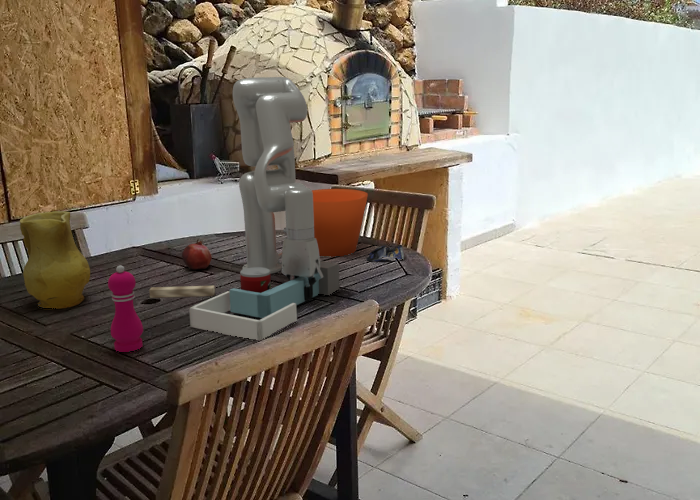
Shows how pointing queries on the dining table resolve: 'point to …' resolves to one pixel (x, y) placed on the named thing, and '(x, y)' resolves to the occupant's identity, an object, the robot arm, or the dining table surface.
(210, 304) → the bay
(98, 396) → the dining table surface
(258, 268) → the canned food
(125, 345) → the pepper mill
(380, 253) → the snack package
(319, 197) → the flowerpot
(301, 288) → the teal gray angled bar
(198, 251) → the fruit
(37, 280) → the pitcher
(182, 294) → the stick
